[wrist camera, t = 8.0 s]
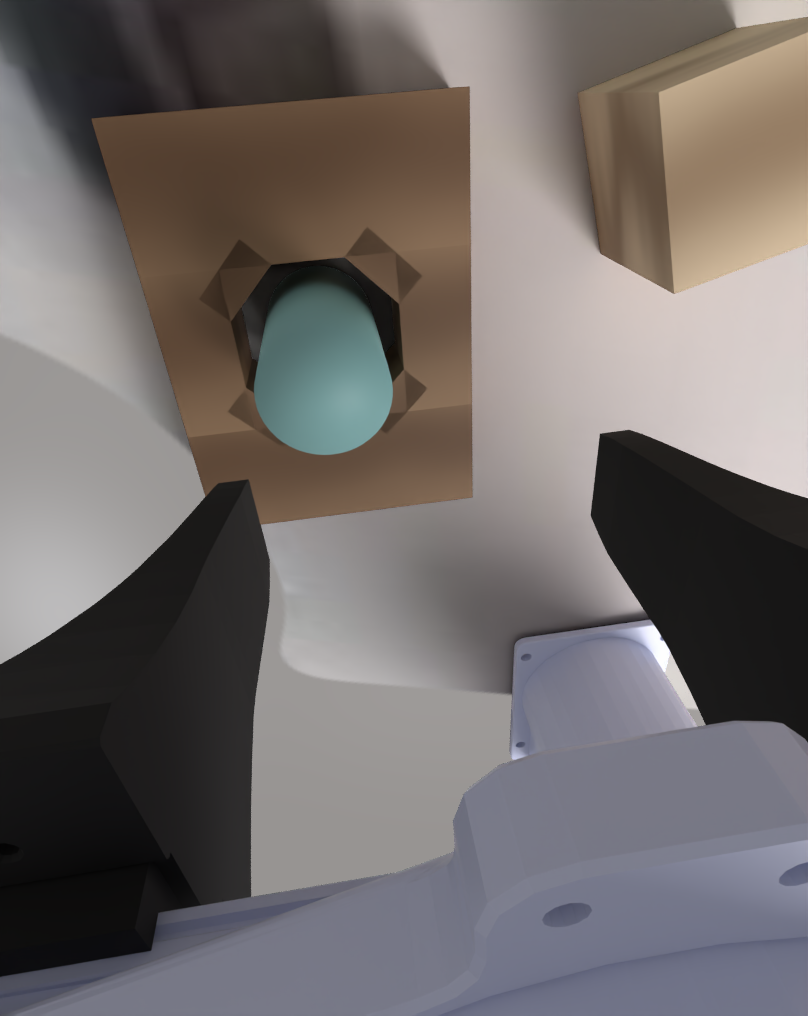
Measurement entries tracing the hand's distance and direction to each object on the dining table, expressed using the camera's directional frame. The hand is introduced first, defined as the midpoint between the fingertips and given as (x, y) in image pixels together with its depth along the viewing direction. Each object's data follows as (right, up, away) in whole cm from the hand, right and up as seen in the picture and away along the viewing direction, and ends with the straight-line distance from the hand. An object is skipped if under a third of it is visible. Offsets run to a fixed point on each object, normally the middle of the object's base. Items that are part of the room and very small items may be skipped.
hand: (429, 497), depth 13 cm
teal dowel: (-3, +6, +7) cm, 10 cm away
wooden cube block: (+7, +11, +6) cm, 14 cm away
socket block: (-3, +6, +7) cm, 10 cm away
